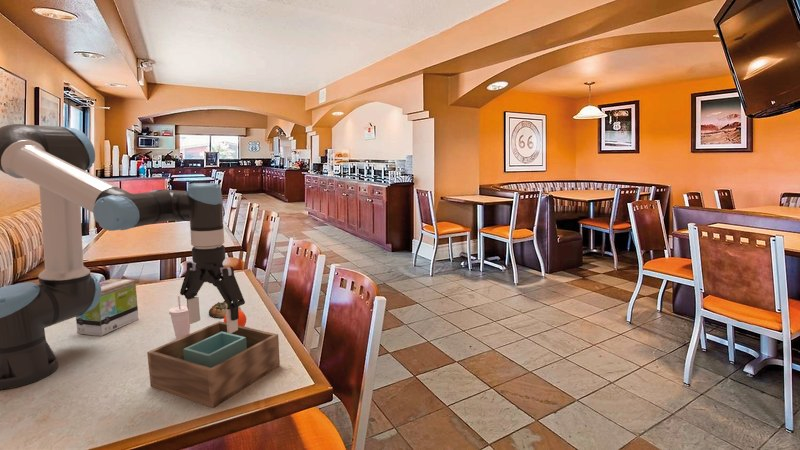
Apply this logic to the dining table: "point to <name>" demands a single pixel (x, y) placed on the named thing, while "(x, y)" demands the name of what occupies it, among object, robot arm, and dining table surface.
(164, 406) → the dining table surface
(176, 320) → the smoothie
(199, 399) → the walnut crate
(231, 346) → the teal crate
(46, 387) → the dining table surface
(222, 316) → the bread roll
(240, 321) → the clementine
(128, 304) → the tea box
